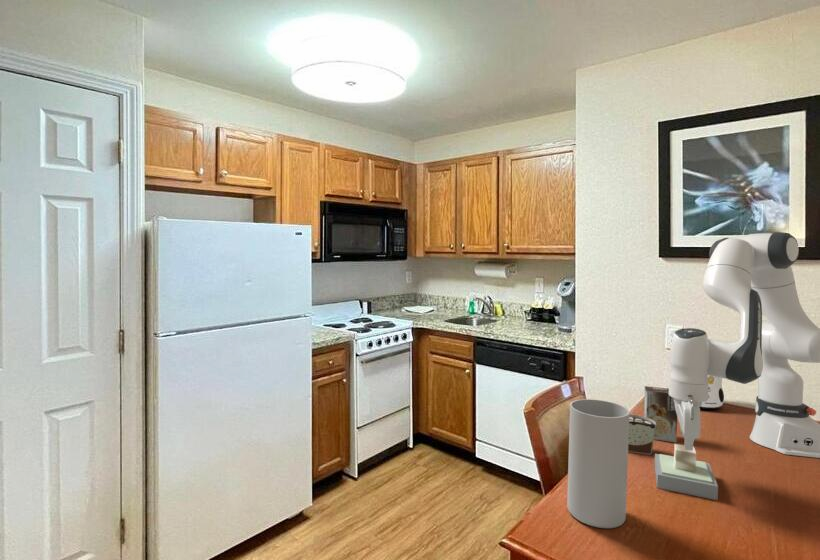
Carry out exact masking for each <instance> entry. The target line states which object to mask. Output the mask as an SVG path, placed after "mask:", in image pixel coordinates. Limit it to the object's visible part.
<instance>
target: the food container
mask: <svg viewBox="0 0 820 560" xmlns="http://www.w3.org/2000/svg"><path fill="white" fill-rule="evenodd" d="M655 429H657V430H658V427H657V424H656V422H655V421H653V420H652V419H650V418H647V417H644V415H639V414H632V413H629V439H628V453H636V454H641V455H642V454H643V455H650V456H651V455H652V453H653V447H654V443H655V442H654V441H655V440H654V435H655Z"/></svg>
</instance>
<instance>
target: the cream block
mask: <svg viewBox="0 0 820 560" xmlns="http://www.w3.org/2000/svg"><path fill="white" fill-rule="evenodd" d="M673 447H674V448H673V449H674V450H673V456H674V465H675V469H680V470H685V471H691V472H695V470H696V461H697V452H696V449H695V446H693V450H686V449H685V447H684V444H678V443H674V446H673Z"/></svg>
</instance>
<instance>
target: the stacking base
mask: <svg viewBox="0 0 820 560" xmlns="http://www.w3.org/2000/svg"><path fill="white" fill-rule="evenodd" d="M654 473H655V482H656V488H657V489H660V490H665V491H671V492H675V493H679V494H684V495H690V496H696V497H698V498H699V497H700V498H704V499H709V500H713V501H718V495H719V485H718V483H717V479H716V478H715V475H714V472H713V470H712V467H711V464H710V463H709V462H705V461H701V460H696V470H695V472H691V471H685V470H680V469H675V465H674V455H668V454H662V453H654Z"/></svg>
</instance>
